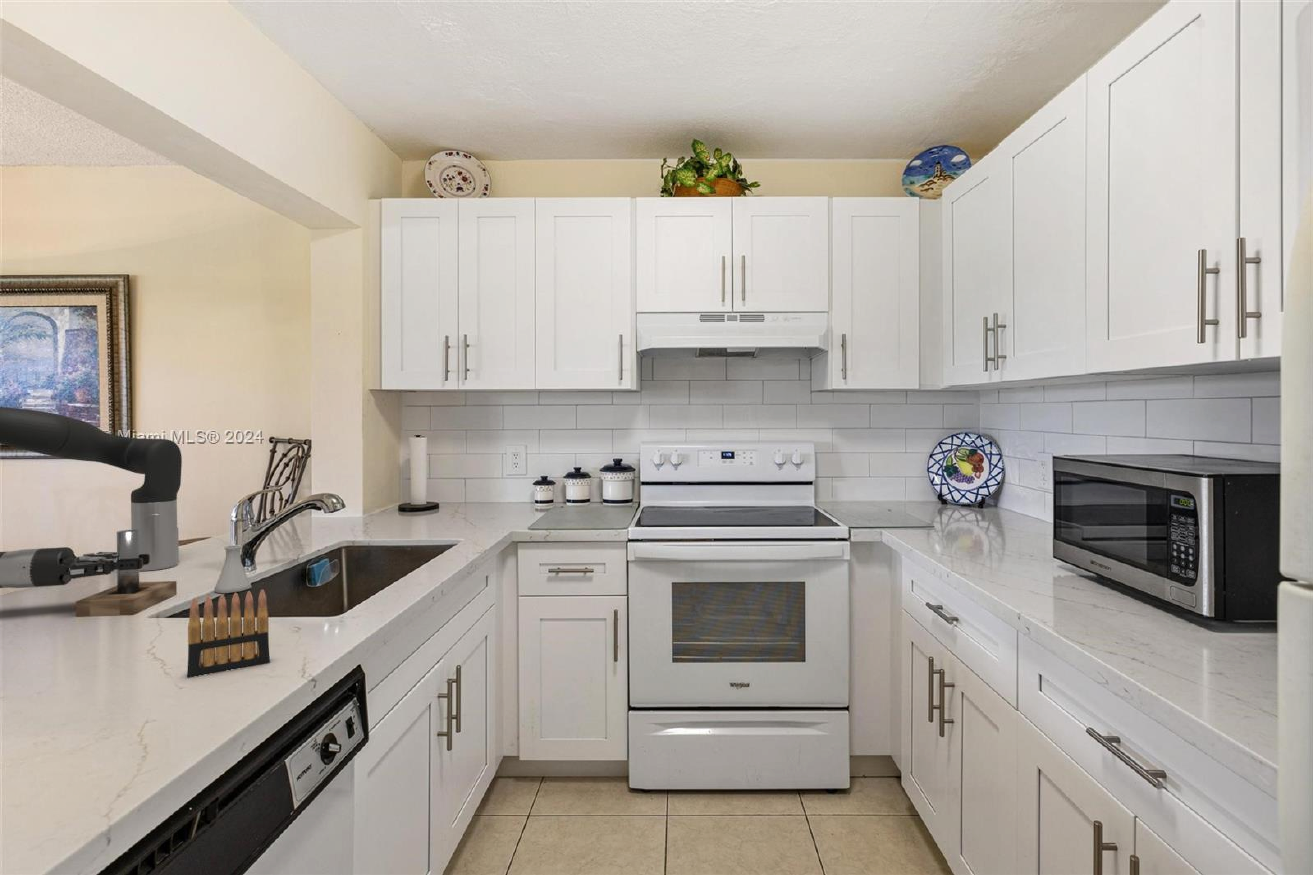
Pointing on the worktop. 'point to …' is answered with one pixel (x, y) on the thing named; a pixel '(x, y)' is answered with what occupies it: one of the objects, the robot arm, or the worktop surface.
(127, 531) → the peg
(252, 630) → the ammunition clip
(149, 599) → the hole block
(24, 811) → the worktop surface
